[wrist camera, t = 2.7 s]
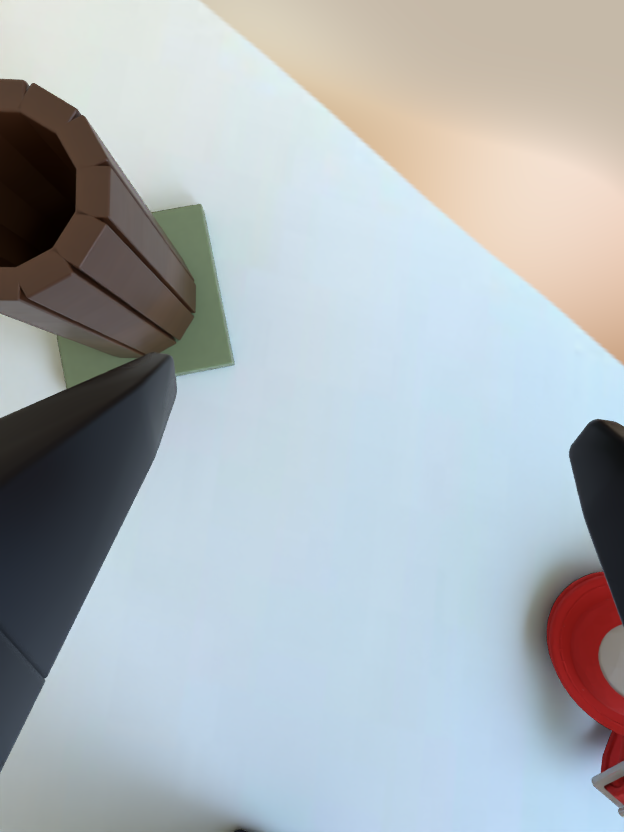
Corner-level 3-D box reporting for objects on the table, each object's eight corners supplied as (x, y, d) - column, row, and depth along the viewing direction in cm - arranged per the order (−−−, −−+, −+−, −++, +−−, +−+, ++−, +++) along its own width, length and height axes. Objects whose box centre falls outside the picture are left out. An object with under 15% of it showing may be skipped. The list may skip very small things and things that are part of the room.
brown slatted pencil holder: (155, 380, 22) (33, 342, 12) (49, 318, 21) (-169, 223, 11) (218, 277, 22) (152, 152, 12) (114, 215, 22) (-44, 34, 12)
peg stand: (234, 365, 22) (217, 348, 17) (75, 396, 22) (10, 387, 17) (204, 210, 23) (177, 150, 18) (45, 238, 22) (-28, 185, 17)
